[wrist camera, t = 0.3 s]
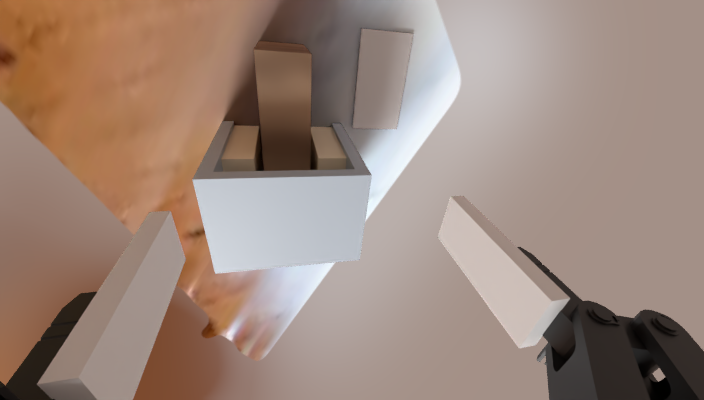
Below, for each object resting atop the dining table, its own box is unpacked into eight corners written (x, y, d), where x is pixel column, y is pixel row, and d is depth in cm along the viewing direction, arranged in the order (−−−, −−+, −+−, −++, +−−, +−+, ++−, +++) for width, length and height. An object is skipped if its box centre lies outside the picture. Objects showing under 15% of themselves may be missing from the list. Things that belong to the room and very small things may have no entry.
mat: (361, 28, 31) (362, 28, 30) (412, 33, 32) (413, 33, 32) (352, 127, 36) (352, 128, 36) (395, 128, 38) (396, 129, 37)
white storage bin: (222, 120, 33) (192, 179, 21) (341, 123, 36) (371, 175, 24) (234, 194, 38) (215, 273, 26) (336, 190, 41) (359, 259, 30)
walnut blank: (259, 40, 29) (253, 49, 22) (302, 44, 30) (311, 53, 23) (268, 163, 37) (266, 200, 29) (303, 162, 38) (309, 198, 30)
